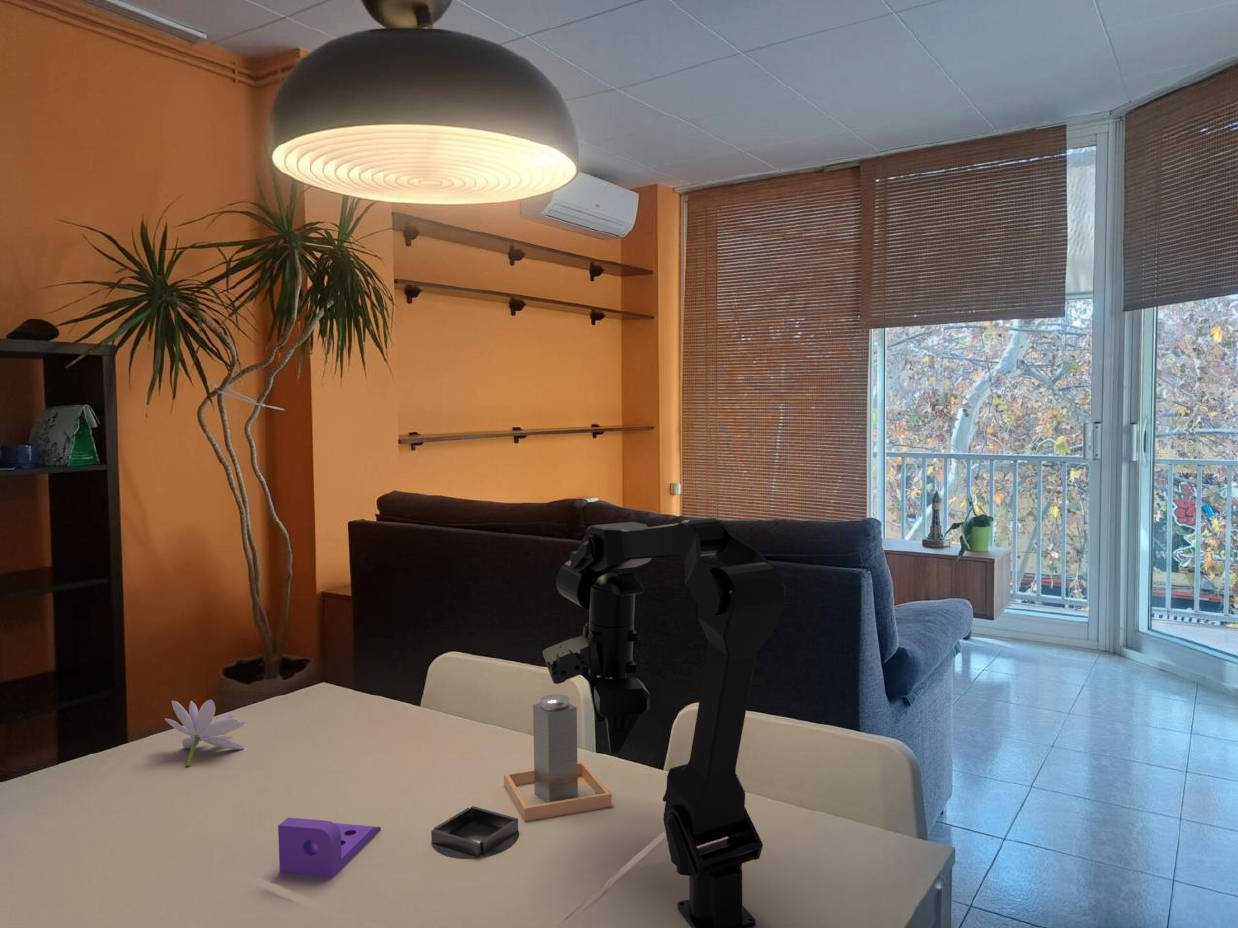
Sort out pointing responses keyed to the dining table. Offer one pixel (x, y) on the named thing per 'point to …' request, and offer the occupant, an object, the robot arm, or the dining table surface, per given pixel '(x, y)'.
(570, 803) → the tray
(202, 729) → the water lily
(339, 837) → the bracket
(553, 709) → the strut
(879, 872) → the dining table surface
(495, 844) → the socket cup
